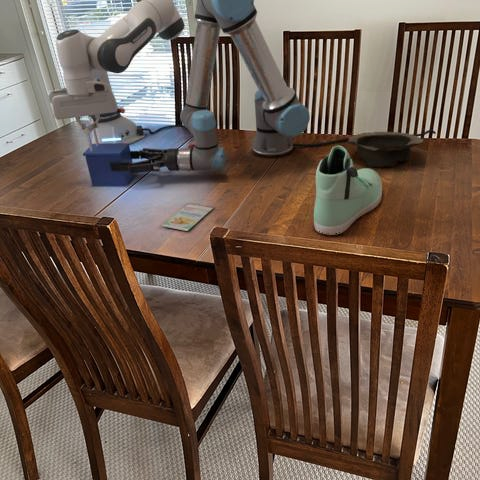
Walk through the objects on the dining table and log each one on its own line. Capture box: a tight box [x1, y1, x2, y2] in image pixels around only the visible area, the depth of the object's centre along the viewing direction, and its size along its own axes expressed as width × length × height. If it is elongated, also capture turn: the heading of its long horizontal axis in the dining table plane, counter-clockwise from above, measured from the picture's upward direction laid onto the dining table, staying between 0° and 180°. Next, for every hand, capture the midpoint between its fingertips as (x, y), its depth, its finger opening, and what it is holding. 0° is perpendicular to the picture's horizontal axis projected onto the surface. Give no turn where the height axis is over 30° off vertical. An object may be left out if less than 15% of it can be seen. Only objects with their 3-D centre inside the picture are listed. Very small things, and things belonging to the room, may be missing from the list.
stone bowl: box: [347, 131, 425, 168], centre depth 166 cm, size 25×25×9 cm
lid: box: [82, 123, 130, 157], centre depth 161 cm, size 13×10×9 cm
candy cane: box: [186, 141, 195, 148], centre depth 187 cm, size 6×15×2 cm, turn 145°
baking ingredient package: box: [160, 203, 214, 232], centre depth 141 cm, size 9×1×15 cm
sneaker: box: [313, 145, 383, 236], centre depth 133 cm, size 14×35×20 cm, turn 152°
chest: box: [84, 145, 136, 187], centre depth 166 cm, size 12×10×11 cm
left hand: (90, 128), depth 160 cm, fingers closed on lid, 3 cm apart
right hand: (116, 160), depth 165 cm, fingers closed on chest, 9 cm apart
